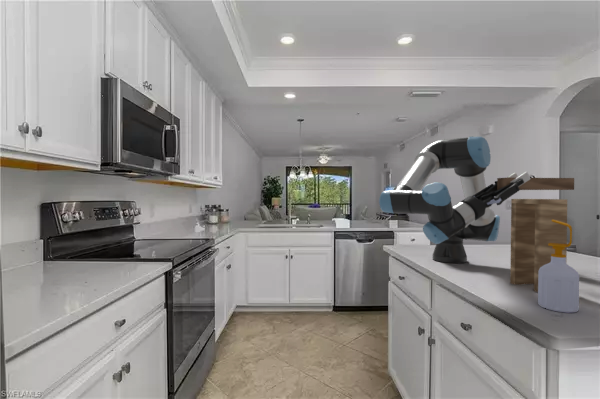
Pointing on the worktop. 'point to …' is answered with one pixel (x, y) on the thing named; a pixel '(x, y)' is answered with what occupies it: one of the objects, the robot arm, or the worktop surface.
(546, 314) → the worktop surface
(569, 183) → the walnut rail
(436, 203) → the robot arm
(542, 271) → the soap bottle
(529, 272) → the bridge
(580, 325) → the worktop surface
